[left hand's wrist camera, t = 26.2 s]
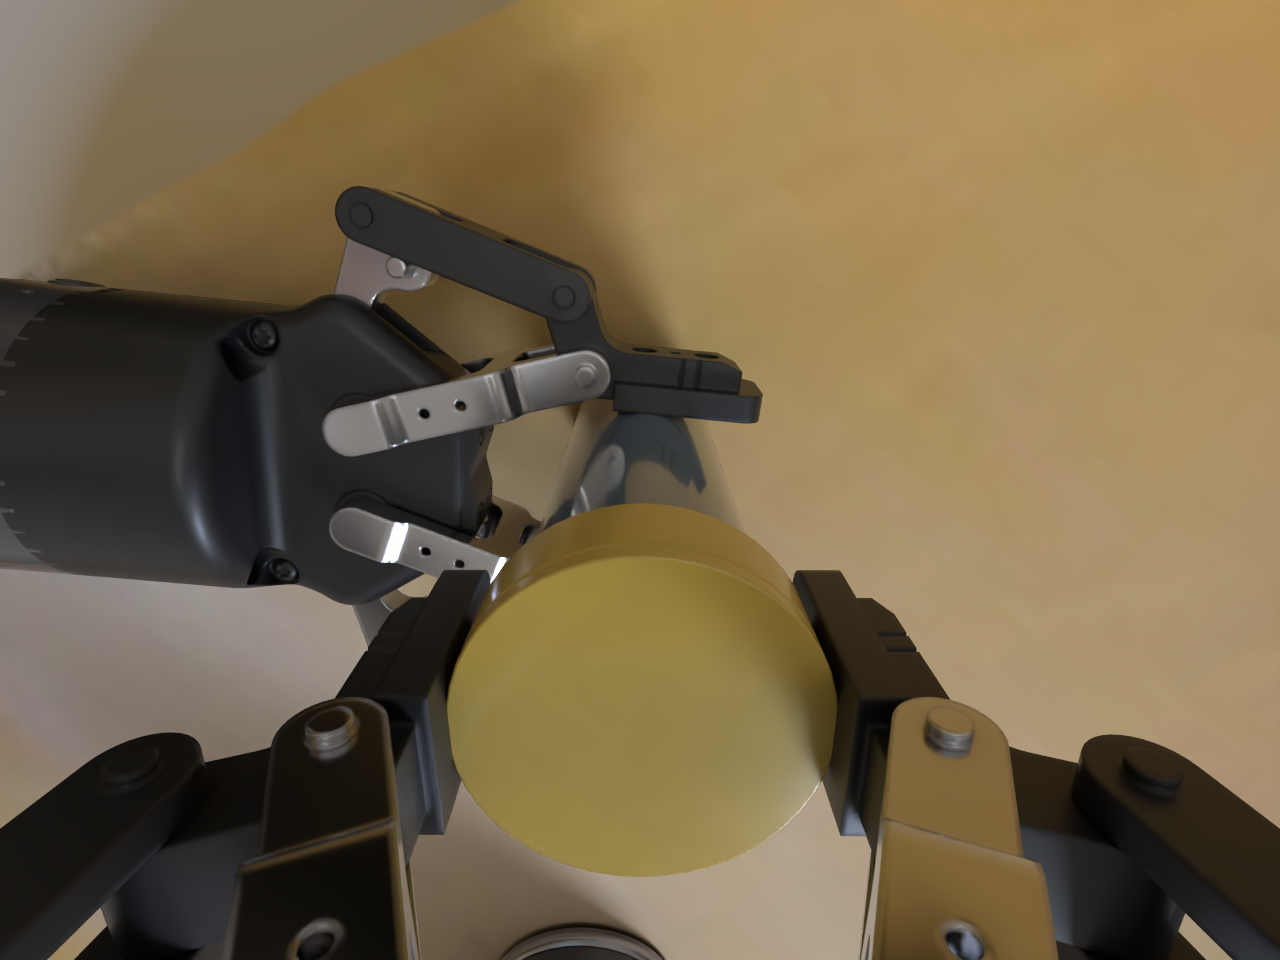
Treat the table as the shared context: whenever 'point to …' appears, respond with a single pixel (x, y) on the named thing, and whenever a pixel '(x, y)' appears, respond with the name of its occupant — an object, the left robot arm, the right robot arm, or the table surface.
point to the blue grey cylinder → (639, 465)
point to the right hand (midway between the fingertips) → (738, 490)
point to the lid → (641, 694)
